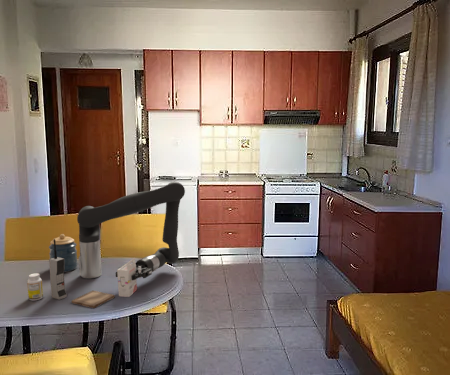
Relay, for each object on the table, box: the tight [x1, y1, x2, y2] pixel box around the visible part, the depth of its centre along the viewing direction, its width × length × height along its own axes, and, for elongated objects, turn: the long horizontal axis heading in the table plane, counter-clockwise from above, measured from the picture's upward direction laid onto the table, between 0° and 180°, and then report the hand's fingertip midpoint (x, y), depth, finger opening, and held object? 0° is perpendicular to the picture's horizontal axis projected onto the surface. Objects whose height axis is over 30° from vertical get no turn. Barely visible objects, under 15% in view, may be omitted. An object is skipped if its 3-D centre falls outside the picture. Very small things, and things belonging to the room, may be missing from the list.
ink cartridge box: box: [116, 257, 138, 298], centre depth 183 cm, size 9×5×15 cm, turn 168°
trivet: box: [71, 290, 116, 309], centre depth 177 cm, size 12×12×1 cm
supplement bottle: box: [26, 272, 44, 302], centre depth 178 cm, size 6×6×10 cm
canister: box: [48, 233, 79, 273], centre depth 215 cm, size 13×13×18 cm
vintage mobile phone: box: [48, 238, 68, 301], centre depth 178 cm, size 4×5×25 cm
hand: (124, 276), depth 181 cm, fingers open, 8 cm apart
